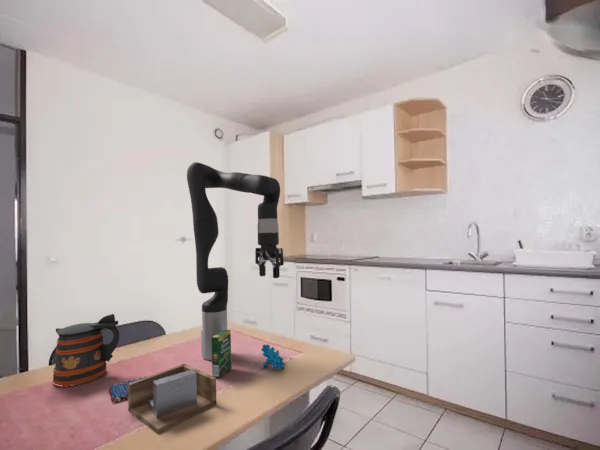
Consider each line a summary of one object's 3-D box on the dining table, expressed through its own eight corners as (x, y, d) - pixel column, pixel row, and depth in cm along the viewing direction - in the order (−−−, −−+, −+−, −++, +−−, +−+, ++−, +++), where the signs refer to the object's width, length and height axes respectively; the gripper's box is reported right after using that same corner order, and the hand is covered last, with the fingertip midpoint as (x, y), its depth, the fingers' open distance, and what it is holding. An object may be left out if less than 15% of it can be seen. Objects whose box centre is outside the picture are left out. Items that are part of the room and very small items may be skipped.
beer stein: (125, 363, 116) (124, 308, 116) (115, 380, 102) (114, 317, 103) (63, 372, 110) (63, 313, 111) (44, 391, 96) (43, 324, 97)
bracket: (156, 418, 78) (156, 385, 78) (147, 405, 84) (147, 374, 84) (196, 403, 84) (196, 372, 84) (185, 392, 90) (185, 364, 90)
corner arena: (128, 410, 83) (128, 383, 84) (184, 387, 96) (184, 363, 96) (157, 433, 73) (157, 402, 73) (216, 403, 86) (215, 377, 86)
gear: (280, 370, 102) (260, 345, 105) (267, 383, 102) (247, 358, 105) (290, 361, 112) (271, 339, 115) (278, 373, 113) (260, 351, 116)
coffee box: (219, 378, 101) (218, 337, 101) (211, 378, 102) (210, 336, 102) (232, 368, 108) (231, 329, 109) (224, 367, 109) (224, 329, 110)
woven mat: (107, 392, 95) (107, 385, 95) (146, 381, 102) (146, 375, 102) (111, 406, 87) (111, 398, 87) (153, 394, 93) (153, 387, 93)
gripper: (248, 232, 118) (249, 276, 117) (270, 231, 107) (272, 279, 106) (265, 232, 122) (266, 274, 122) (288, 231, 112) (289, 277, 111)
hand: (269, 277), depth 114 cm, fingers open, 8 cm apart
